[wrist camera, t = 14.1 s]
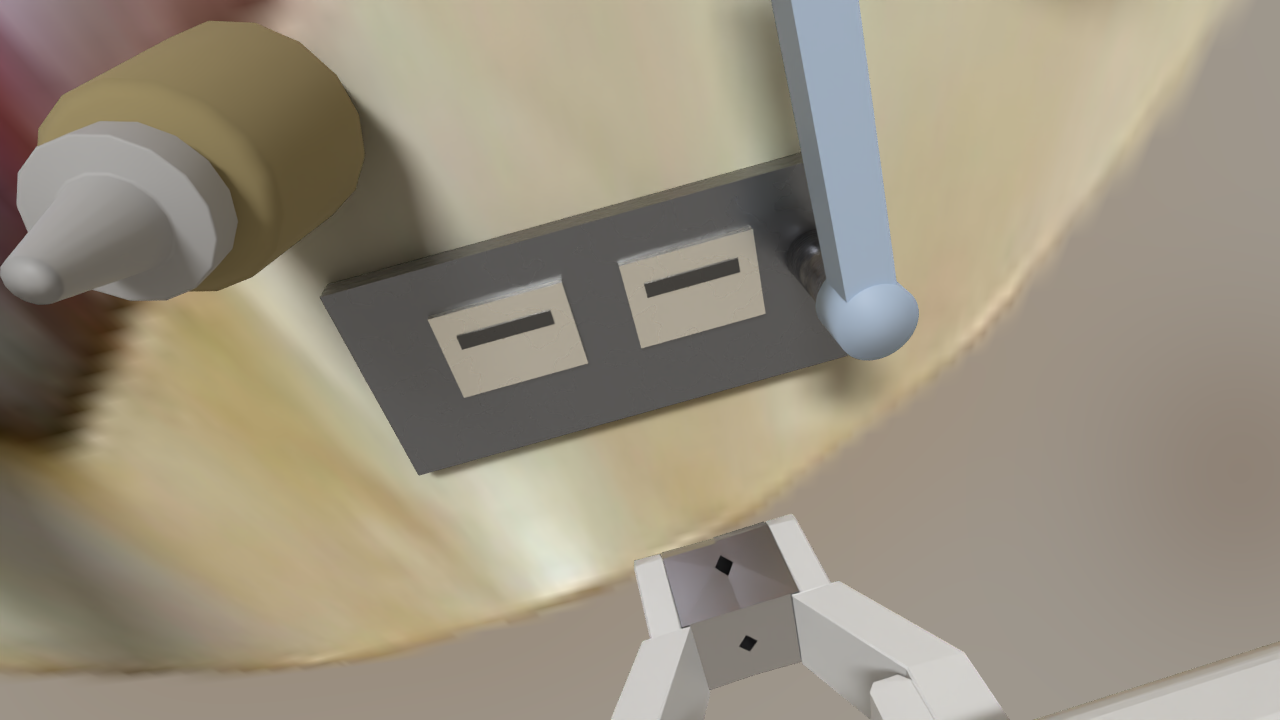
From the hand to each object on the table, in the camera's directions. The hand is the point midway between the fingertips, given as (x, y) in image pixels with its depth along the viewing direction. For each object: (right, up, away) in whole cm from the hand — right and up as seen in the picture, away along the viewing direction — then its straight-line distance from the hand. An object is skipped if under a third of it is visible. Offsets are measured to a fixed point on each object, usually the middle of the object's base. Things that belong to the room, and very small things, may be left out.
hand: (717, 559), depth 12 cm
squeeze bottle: (-17, +15, +18) cm, 29 cm away
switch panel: (-3, +6, +25) cm, 26 cm away
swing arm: (+6, +14, +14) cm, 20 cm away
